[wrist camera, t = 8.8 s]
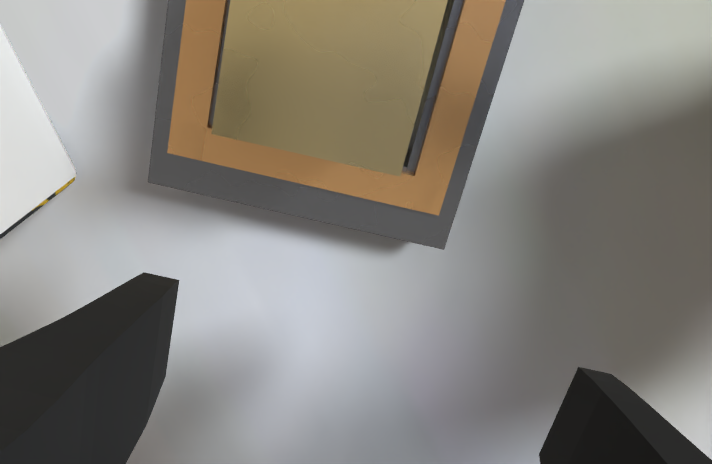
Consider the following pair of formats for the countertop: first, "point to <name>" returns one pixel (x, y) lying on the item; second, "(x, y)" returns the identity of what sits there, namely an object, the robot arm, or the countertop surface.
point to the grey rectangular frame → (323, 177)
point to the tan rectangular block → (327, 76)
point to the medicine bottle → (26, 146)
